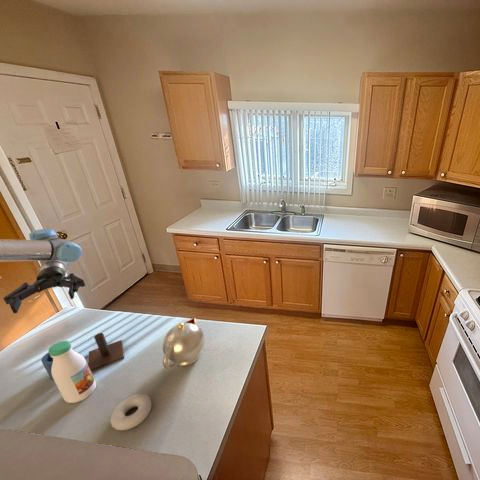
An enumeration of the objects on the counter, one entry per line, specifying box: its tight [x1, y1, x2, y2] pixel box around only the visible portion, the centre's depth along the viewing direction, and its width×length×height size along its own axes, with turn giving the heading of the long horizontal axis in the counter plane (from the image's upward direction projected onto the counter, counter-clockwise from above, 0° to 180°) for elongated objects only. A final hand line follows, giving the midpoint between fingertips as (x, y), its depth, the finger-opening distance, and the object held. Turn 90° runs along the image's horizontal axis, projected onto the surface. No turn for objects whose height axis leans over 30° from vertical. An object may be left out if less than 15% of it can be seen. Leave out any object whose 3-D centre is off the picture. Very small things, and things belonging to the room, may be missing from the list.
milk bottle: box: [47, 340, 97, 404], centre depth 78 cm, size 8×8×20 cm
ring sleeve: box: [41, 352, 54, 381], centre depth 87 cm, size 7×7×8 cm
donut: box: [110, 393, 152, 432], centre depth 76 cm, size 10×4×10 cm
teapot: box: [162, 317, 206, 372], centre depth 91 cm, size 18×14×16 cm
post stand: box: [87, 332, 125, 372], centre depth 93 cm, size 10×10×10 cm
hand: (43, 302), depth 86 cm, fingers open, 13 cm apart
